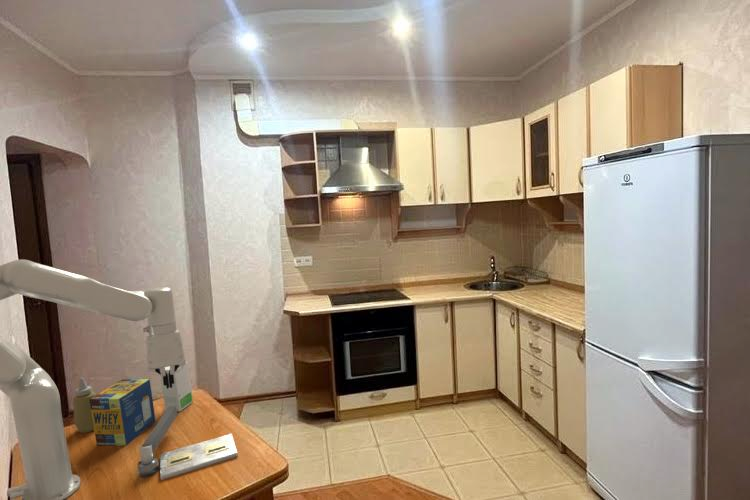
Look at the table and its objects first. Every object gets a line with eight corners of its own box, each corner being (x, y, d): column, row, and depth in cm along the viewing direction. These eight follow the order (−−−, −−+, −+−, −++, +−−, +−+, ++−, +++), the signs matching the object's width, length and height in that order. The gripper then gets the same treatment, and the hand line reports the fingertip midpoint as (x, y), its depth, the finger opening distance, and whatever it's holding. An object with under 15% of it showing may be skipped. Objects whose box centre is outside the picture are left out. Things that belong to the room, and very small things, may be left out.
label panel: (161, 480, 119) (160, 474, 119) (161, 457, 130) (160, 453, 130) (237, 456, 128) (237, 451, 127) (231, 437, 138) (231, 432, 138)
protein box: (95, 446, 140) (88, 399, 138) (129, 421, 155) (122, 378, 153) (126, 446, 138) (118, 398, 136) (156, 421, 153) (150, 378, 151)
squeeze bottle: (78, 427, 153) (69, 377, 151) (105, 420, 157) (97, 371, 154) (73, 437, 146) (64, 385, 144) (102, 430, 149) (93, 379, 147)
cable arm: (151, 463, 122) (149, 448, 121) (139, 465, 121) (137, 450, 121) (178, 418, 147) (176, 406, 146) (169, 419, 146) (167, 407, 146)
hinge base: (138, 479, 120) (137, 469, 120) (139, 470, 124) (137, 460, 124) (159, 473, 122) (157, 463, 122) (159, 464, 127) (157, 454, 126)
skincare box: (180, 412, 158) (174, 370, 156) (163, 411, 160) (157, 370, 158) (194, 401, 166) (188, 361, 164) (178, 401, 168) (172, 361, 166)
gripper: (134, 336, 128) (141, 397, 130) (189, 327, 134) (196, 385, 136) (135, 330, 135) (142, 388, 137) (188, 321, 141) (194, 377, 143)
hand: (169, 386), depth 137 cm, fingers closed
